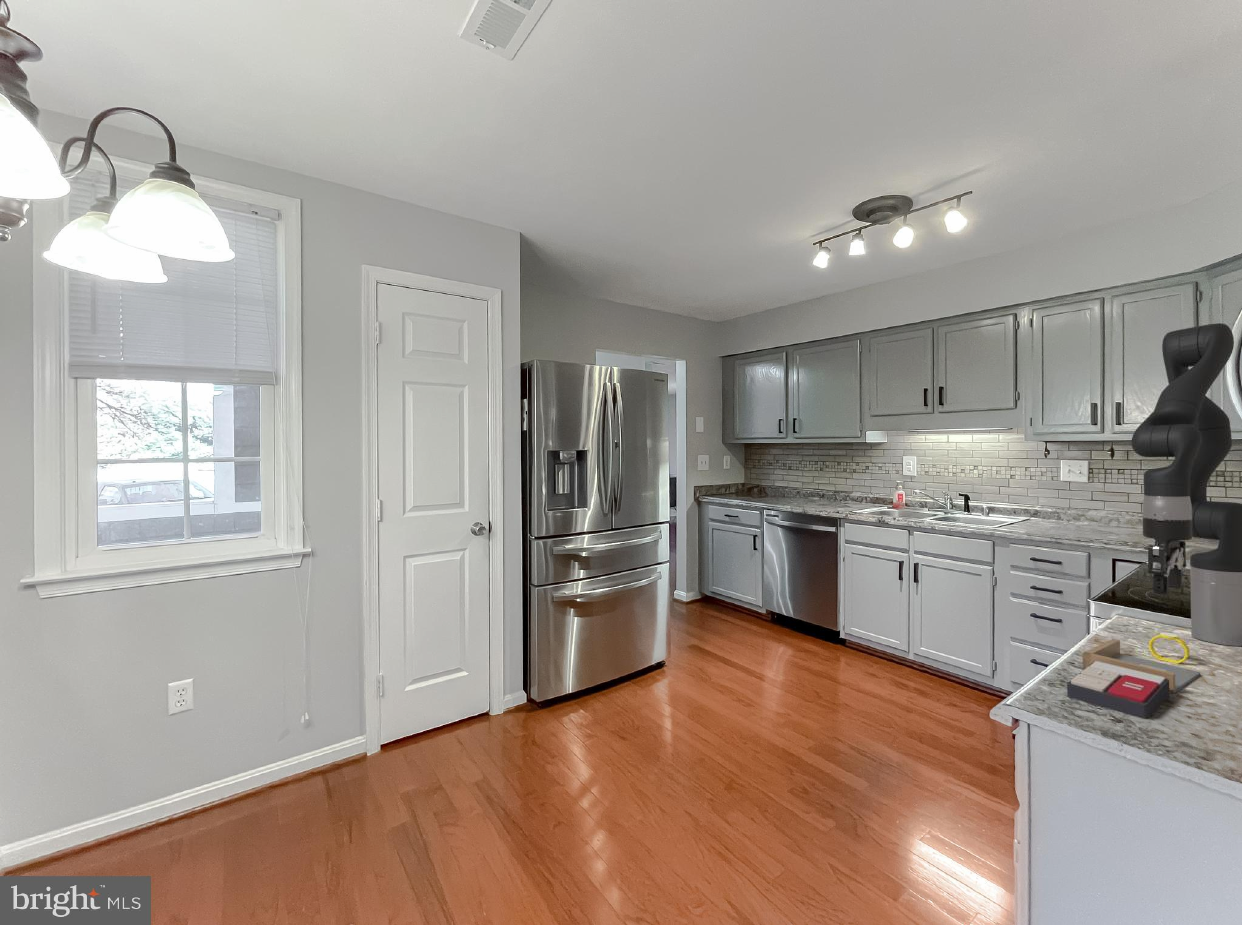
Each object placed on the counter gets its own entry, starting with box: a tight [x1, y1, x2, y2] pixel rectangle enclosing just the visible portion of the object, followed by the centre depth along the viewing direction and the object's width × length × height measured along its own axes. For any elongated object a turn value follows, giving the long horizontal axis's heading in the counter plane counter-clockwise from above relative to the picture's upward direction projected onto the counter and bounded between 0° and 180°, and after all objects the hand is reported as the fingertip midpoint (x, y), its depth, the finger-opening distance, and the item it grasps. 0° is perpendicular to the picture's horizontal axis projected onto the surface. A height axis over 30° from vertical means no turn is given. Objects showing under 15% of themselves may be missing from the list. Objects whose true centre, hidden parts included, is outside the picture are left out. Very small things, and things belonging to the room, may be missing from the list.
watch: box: [1148, 631, 1190, 665], centre depth 116 cm, size 6×3×6 cm, turn 32°
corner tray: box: [1082, 638, 1201, 694], centre depth 110 cm, size 16×14×4 cm
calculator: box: [1066, 661, 1171, 720], centre depth 100 cm, size 11×4×15 cm
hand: (1167, 591), depth 116 cm, fingers open, 8 cm apart
